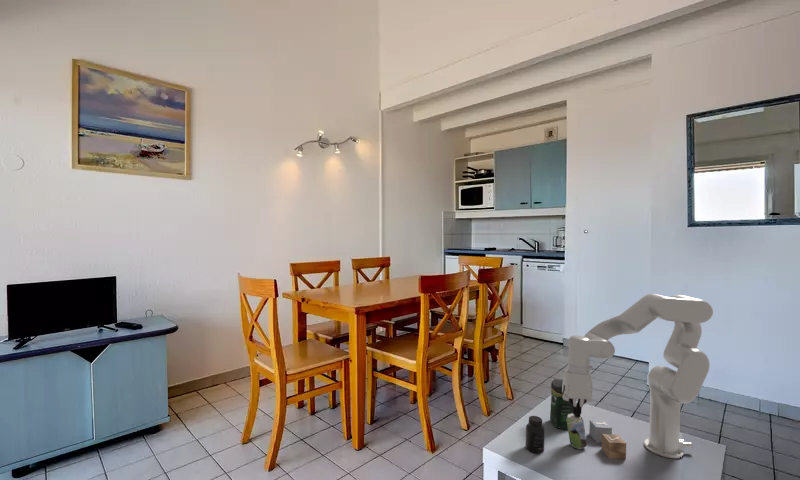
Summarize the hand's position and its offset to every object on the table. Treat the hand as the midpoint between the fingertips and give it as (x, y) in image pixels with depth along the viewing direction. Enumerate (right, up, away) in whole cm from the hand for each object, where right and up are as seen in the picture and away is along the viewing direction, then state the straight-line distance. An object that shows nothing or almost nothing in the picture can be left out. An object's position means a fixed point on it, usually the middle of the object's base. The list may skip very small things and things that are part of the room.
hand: (576, 415), depth 149 cm
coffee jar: (+1, -12, +17) cm, 21 cm away
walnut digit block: (+12, -13, -4) cm, 18 cm away
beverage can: (0, -12, 0) cm, 12 cm away
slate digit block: (+13, -12, +7) cm, 19 cm away
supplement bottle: (-17, -12, -3) cm, 21 cm away
